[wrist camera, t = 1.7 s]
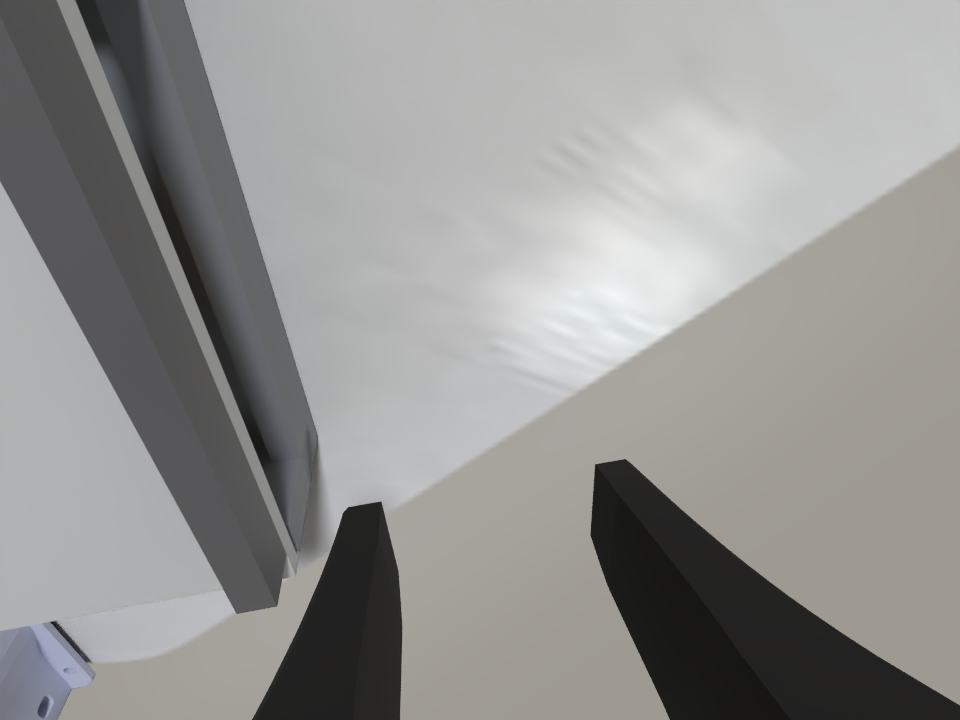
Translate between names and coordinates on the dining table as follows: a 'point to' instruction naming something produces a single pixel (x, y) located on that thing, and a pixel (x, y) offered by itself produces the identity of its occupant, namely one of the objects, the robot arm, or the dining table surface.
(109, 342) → the lid
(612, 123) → the dining table surface
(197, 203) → the case
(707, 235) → the dining table surface
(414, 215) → the dining table surface
